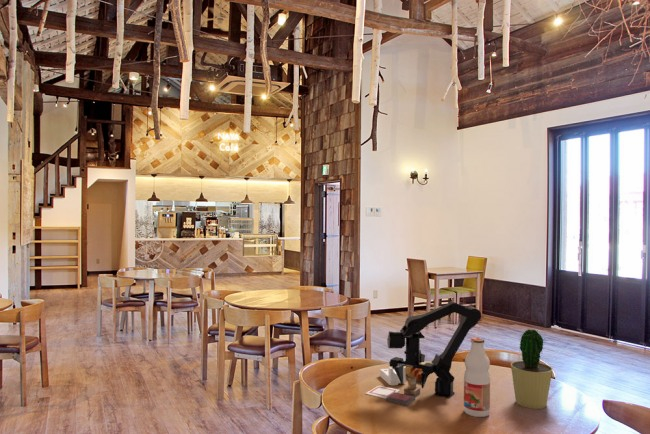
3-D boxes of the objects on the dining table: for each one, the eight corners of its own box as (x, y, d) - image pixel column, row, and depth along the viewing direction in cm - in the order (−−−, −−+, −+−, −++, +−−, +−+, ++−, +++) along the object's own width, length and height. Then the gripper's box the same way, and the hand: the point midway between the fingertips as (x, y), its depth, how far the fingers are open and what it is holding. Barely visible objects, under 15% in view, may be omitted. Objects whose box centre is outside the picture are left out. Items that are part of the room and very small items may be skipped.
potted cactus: (527, 412, 190) (528, 333, 190) (502, 398, 205) (503, 324, 204) (561, 408, 194) (562, 331, 194) (534, 395, 209) (535, 323, 209)
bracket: (405, 384, 220) (405, 367, 220) (390, 386, 219) (390, 368, 219) (394, 375, 233) (394, 359, 233) (380, 376, 231) (380, 360, 231)
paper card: (399, 390, 212) (399, 389, 212) (387, 399, 202) (387, 398, 202) (378, 386, 218) (378, 385, 218) (365, 394, 208) (365, 393, 208)
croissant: (403, 376, 242) (396, 361, 242) (421, 365, 244) (414, 351, 243) (418, 390, 221) (410, 374, 221) (437, 379, 223) (429, 363, 222)
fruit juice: (494, 417, 185) (494, 341, 185) (469, 418, 184) (470, 342, 184) (483, 407, 194) (484, 335, 194) (460, 408, 193) (460, 335, 193)
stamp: (420, 394, 209) (420, 377, 209) (415, 397, 205) (415, 380, 204) (409, 391, 211) (409, 375, 211) (404, 395, 207) (404, 378, 207)
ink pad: (415, 399, 202) (415, 395, 202) (406, 405, 195) (406, 402, 195) (394, 395, 207) (394, 391, 207) (386, 400, 200) (386, 397, 200)
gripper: (441, 347, 209) (440, 384, 210) (400, 341, 220) (399, 376, 220) (431, 353, 200) (430, 392, 200) (389, 346, 211) (388, 383, 211)
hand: (412, 385), depth 208 cm, fingers open, 9 cm apart
